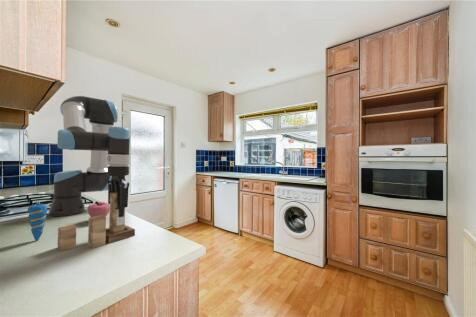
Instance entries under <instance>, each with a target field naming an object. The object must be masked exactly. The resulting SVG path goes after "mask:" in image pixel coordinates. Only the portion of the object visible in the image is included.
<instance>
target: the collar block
mask: <svg viewBox="0 0 476 317" xmlns="http://www.w3.org/2000/svg"><path fill="white" fill-rule="evenodd" d="M135 232H136V229H135V228H133V227H131V226H129V225H126V224H125V229H124V231H122V232H118V233H114V234H110V233H109V227H108V228H107V227H106V240H105V243H108V244H111V243H114V242H117V241H120V240H124V239H128V238H131V237H134V236H136V235H135V234H136V233H135Z"/></svg>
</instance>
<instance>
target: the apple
mask: <svg viewBox="0 0 476 317" xmlns="http://www.w3.org/2000/svg"><path fill="white" fill-rule="evenodd" d="M87 214H88V215H89V217H94V216H100V215H102V216H105V217H106V218H107V216H108V215H109V214H110V204H108V202H106V201H105V202H103V201H99V202H98V201H95V202H93V203H91V204H89V205H88V207H87Z"/></svg>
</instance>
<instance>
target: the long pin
mask: <svg viewBox="0 0 476 317" xmlns="http://www.w3.org/2000/svg"><path fill="white" fill-rule="evenodd" d="M109 207H110V211H109V219H108V220H109V221H108V222H109V224H108V225H109V226H108V228H109V233H110V234H114V233H118V232H122V231H124V229H125V225H126V224H125V221H126V219H125V218H126V208H124V224H123V225H119V226H116V209H115V208H117V194H116V192H115V193H110V204H109Z"/></svg>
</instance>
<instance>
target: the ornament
mask: <svg viewBox="0 0 476 317" xmlns="http://www.w3.org/2000/svg"><path fill="white" fill-rule="evenodd" d="M27 213H28V217H27V218H28V220H30V222H29V225H30V227H31V230H30V231H31V234H32V236H33V238H34V241H35V242H37V241H39V240H40V237H42V235H43V233H44V228H45V221H46V220H47V214H48V207H47V206H46V204H44V203H41V202H40V200H37V202H36V203H35V204H32V205H30V206H29V207H28V208H27Z"/></svg>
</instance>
